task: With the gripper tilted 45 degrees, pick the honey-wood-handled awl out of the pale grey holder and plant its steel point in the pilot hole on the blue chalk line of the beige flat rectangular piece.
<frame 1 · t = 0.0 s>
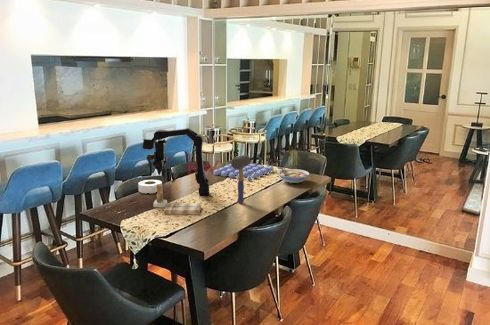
hand: (160, 173, 261), 15 cm above the table, tool pointing down, fingers open, 9 cm apart
roll of tape: (150, 190, 274), on the table
rubber mallet: (240, 203, 249), on the table
purple egg tray: (242, 174, 318), on the table
ramen bowl: (293, 182, 294), on the table
awl holder: (160, 205, 243), on the table
awl: (159, 195, 242), in the awl holder
beige flat rectangular piece: (183, 210, 235), on the table
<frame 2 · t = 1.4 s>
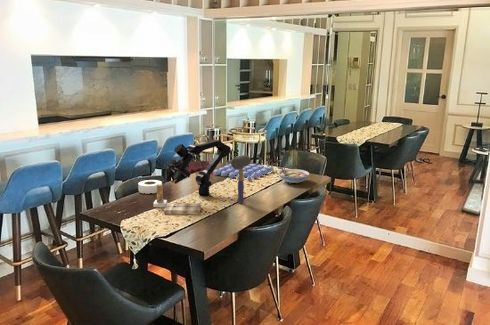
hand: (170, 181, 245), 13 cm above the table, tool tilted 45°, fingers open, 9 cm apart
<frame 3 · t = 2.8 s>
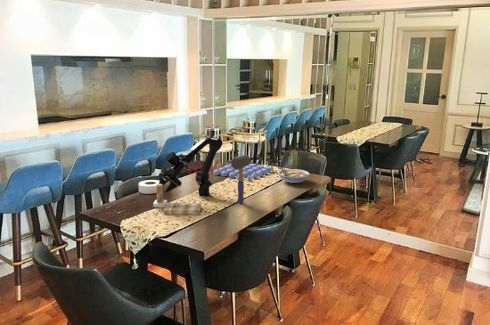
hand: (161, 190, 242), 9 cm above the table, tool tilted 45°, fingers open, 9 cm apart
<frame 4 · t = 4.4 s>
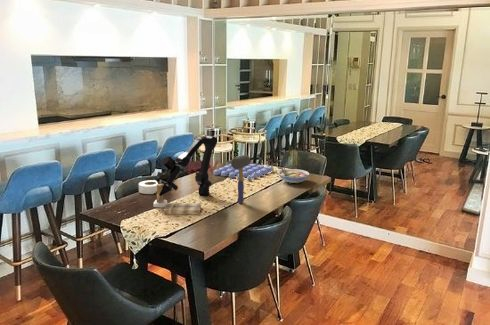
hand: (157, 194, 241), 7 cm above the table, tool tilted 45°, fingers closed on awl, 4 cm apart
awl: (159, 195, 242), in the awl holder, touching gripper
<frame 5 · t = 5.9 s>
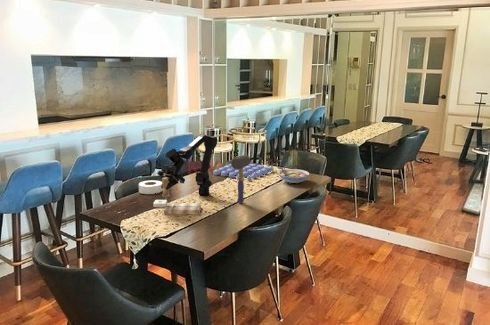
hand: (164, 188, 234), 12 cm above the table, tool tilted 45°, fingers closed on awl, 4 cm apart
awl: (165, 188, 235), point 12 cm above the table, touching gripper
when the fingers open (8 cm above the table, at t = 7.7 s): awl stays where it is, resting on beige flat rectangular piece.
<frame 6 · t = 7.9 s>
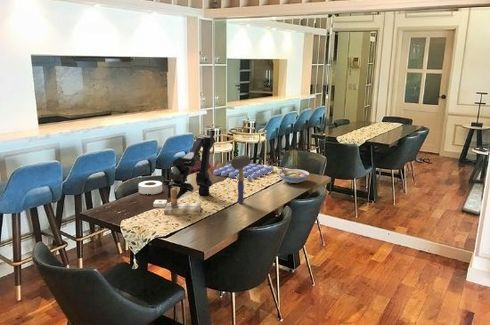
hand: (172, 198, 231), 8 cm above the table, tool tilted 45°, fingers open, 5 cm apart
awl: (174, 199, 233), in the beige flat rectangular piece
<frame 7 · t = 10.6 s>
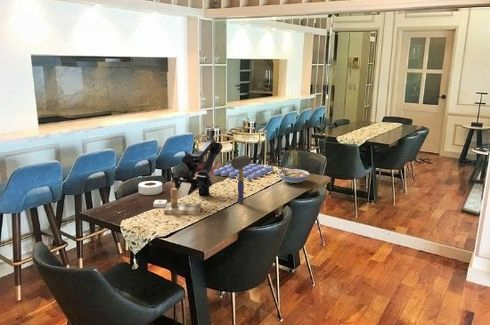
hand: (181, 193, 240), 8 cm above the table, tool tilted 45°, fingers open, 9 cm apart
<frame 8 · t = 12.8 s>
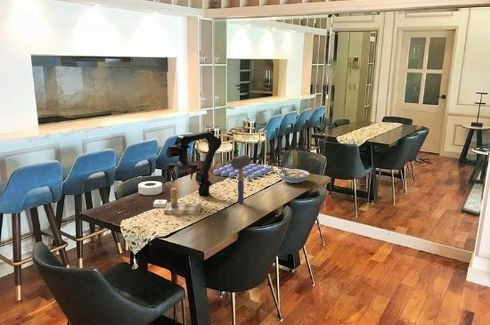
hand: (183, 179, 252), 13 cm above the table, tool pointing down, fingers open, 9 cm apart
at the end: awl 0.1 cm from the target spot, resting in beige flat rectangular piece; awl tilted 0°; the gripper is holding nothing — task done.
